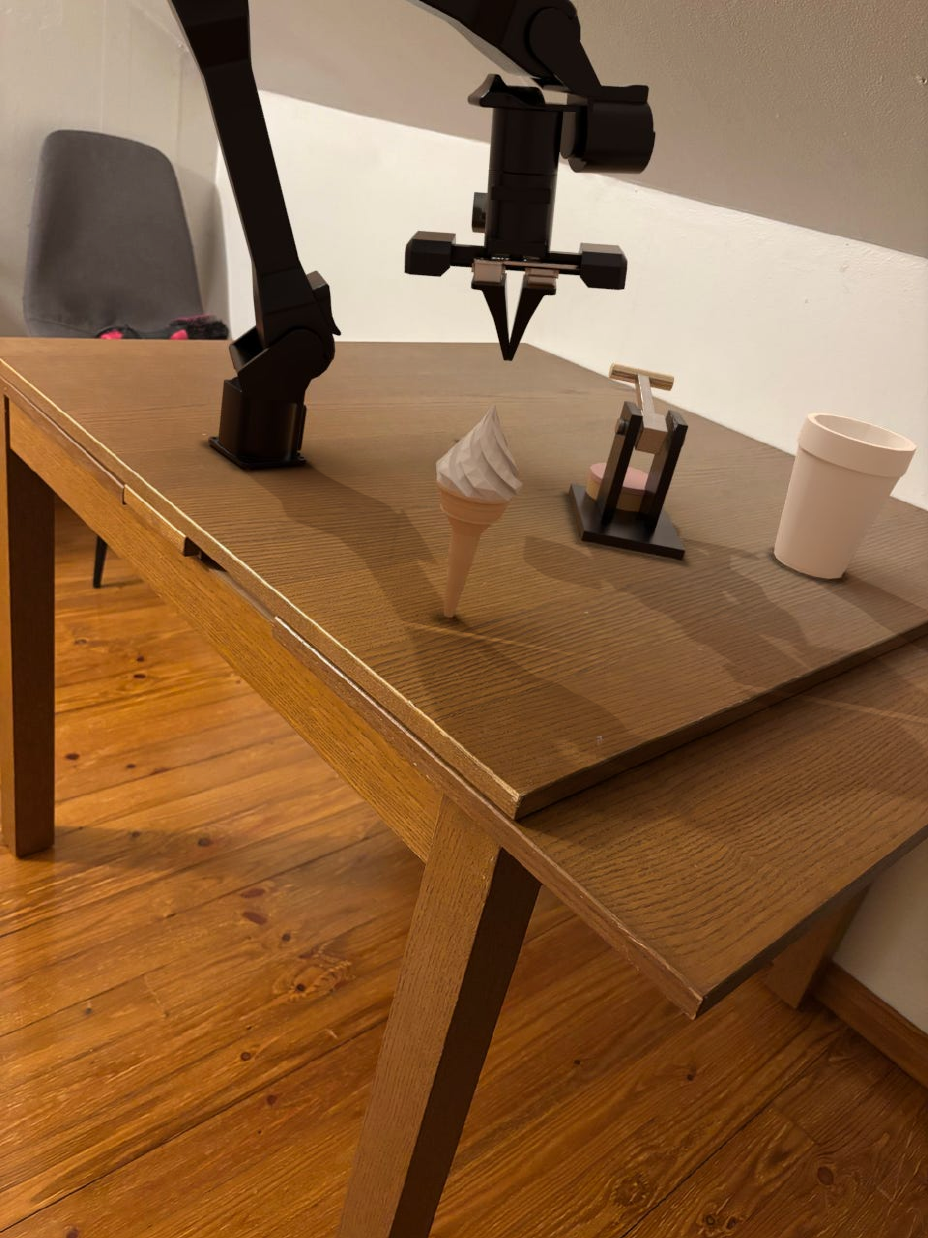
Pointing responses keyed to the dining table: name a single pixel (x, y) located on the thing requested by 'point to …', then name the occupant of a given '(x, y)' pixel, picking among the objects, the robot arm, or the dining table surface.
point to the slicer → (651, 522)
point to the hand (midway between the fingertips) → (507, 359)
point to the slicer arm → (646, 404)
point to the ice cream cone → (474, 496)
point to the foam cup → (837, 491)
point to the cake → (630, 489)
